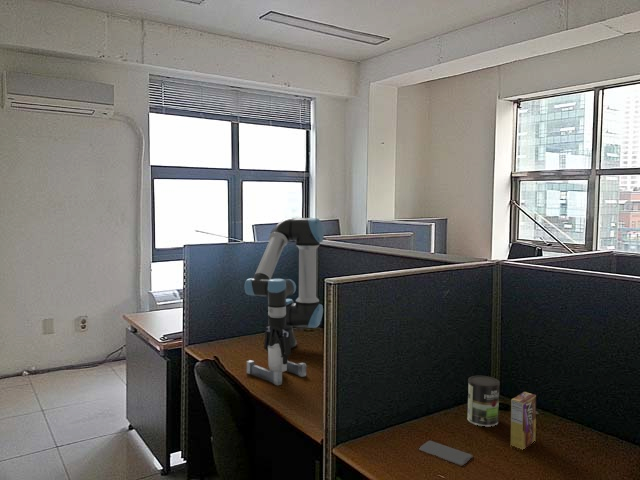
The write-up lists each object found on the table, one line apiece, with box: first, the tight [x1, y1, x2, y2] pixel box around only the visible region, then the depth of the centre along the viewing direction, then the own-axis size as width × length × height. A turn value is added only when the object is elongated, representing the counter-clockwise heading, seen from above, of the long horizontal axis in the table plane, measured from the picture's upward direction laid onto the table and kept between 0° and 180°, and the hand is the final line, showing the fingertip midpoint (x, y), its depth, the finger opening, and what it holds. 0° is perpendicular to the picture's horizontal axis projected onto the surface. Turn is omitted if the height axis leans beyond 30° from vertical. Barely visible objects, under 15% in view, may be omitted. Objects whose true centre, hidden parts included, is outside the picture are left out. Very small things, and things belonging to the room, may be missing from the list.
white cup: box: [267, 344, 285, 372], centre depth 221 cm, size 8×8×10 cm
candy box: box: [510, 391, 537, 450], centre depth 161 cm, size 9×4×15 cm, turn 133°
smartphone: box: [418, 440, 474, 466], centre depth 156 cm, size 8×1×15 cm
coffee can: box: [466, 375, 501, 428], centre depth 178 cm, size 10×10×14 cm
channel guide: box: [246, 359, 307, 386], centre depth 223 cm, size 16×20×5 cm
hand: (277, 368), depth 222 cm, fingers closed on white cup, 7 cm apart
